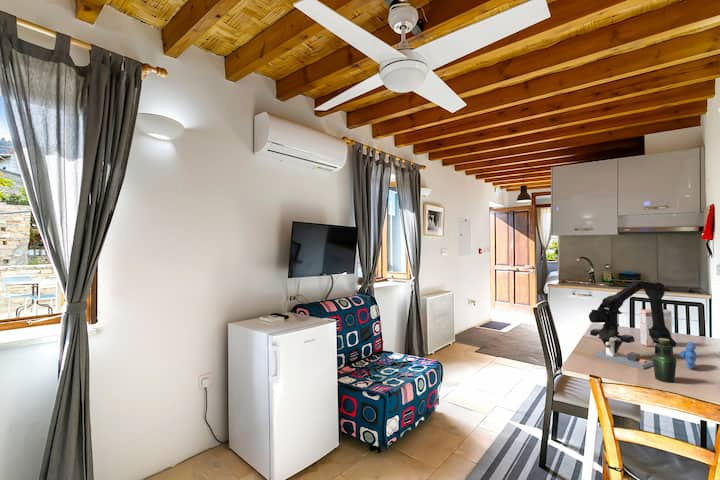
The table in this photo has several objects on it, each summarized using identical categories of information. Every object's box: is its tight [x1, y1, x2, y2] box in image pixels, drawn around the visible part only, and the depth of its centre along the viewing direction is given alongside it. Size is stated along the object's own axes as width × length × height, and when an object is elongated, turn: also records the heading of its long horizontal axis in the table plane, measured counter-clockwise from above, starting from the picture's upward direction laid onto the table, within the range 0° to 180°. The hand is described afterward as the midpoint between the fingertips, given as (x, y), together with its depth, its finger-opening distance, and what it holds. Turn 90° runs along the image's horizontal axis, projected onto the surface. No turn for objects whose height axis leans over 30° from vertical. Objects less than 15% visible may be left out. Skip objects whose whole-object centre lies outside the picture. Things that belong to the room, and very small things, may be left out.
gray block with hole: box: [593, 349, 654, 370], centre depth 184 cm, size 22×10×5 cm, turn 29°
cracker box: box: [639, 308, 673, 348], centre depth 209 cm, size 14×6×21 cm, turn 84°
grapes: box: [678, 342, 699, 370], centre depth 174 cm, size 12×7×12 cm, turn 135°
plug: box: [605, 340, 619, 357], centre depth 188 cm, size 4×6×7 cm, turn 120°
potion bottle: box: [652, 338, 678, 383], centre depth 159 cm, size 8×8×18 cm
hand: (611, 351), depth 188 cm, fingers closed on plug, 3 cm apart
